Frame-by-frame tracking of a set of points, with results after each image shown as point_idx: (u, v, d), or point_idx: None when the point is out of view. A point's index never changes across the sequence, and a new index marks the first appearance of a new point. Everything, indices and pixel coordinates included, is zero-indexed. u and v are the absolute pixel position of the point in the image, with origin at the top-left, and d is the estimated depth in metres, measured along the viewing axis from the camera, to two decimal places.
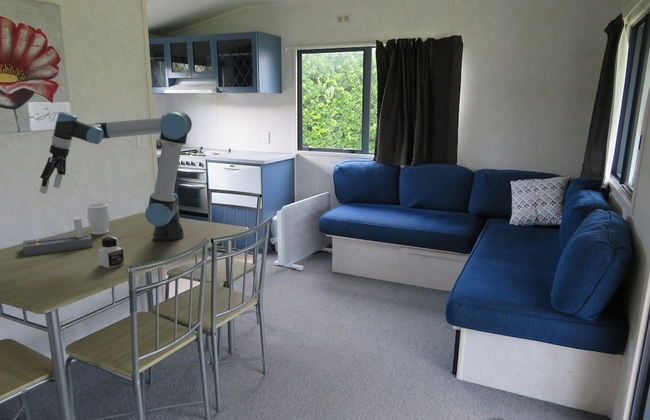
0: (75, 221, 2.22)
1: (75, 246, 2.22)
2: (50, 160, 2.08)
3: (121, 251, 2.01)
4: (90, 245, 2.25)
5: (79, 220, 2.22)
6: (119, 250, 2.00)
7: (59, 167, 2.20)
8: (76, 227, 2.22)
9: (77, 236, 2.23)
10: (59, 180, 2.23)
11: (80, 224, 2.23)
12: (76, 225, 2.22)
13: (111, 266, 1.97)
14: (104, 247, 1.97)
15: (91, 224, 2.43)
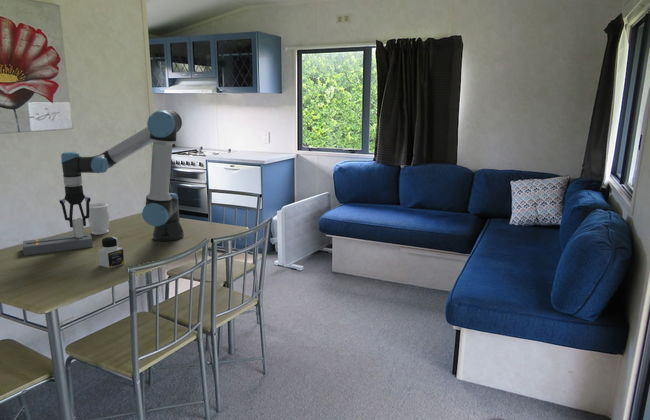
0: (75, 221, 2.22)
1: (75, 246, 2.22)
2: (60, 202, 2.19)
3: (121, 251, 2.01)
4: (90, 245, 2.25)
5: (79, 220, 2.22)
6: (119, 250, 2.00)
7: None
8: (76, 227, 2.22)
9: (77, 236, 2.23)
10: None
11: (80, 224, 2.23)
12: (76, 225, 2.22)
13: (111, 266, 1.97)
14: (104, 247, 1.97)
15: (91, 224, 2.43)
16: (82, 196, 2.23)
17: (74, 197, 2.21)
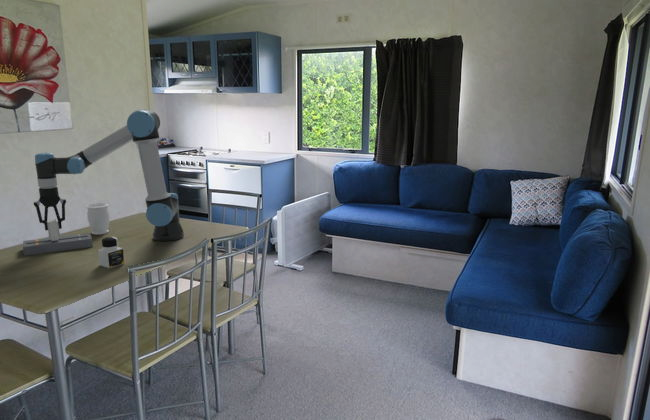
0: (50, 224, 2.16)
1: (75, 246, 2.22)
2: None
3: (121, 251, 2.01)
4: (90, 245, 2.25)
5: (54, 223, 2.17)
6: (119, 250, 2.00)
7: (55, 211, 2.19)
8: (51, 230, 2.17)
9: (52, 239, 2.18)
10: (57, 228, 2.20)
11: (55, 227, 2.18)
12: (51, 228, 2.17)
13: (111, 266, 1.97)
14: (104, 247, 1.97)
15: (91, 224, 2.43)
16: (57, 198, 2.18)
17: (49, 199, 2.16)
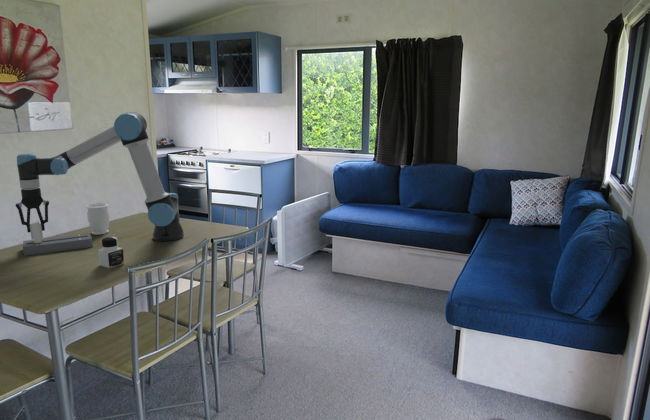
0: (32, 226, 2.13)
1: (75, 246, 2.22)
2: (16, 206, 2.11)
3: (121, 251, 2.01)
4: (90, 245, 2.25)
5: (37, 224, 2.14)
6: (119, 250, 2.00)
7: None
8: (34, 232, 2.14)
9: (35, 241, 2.15)
10: (40, 230, 2.17)
11: (38, 229, 2.14)
12: (34, 230, 2.14)
13: (111, 266, 1.97)
14: (104, 247, 1.97)
15: (91, 224, 2.43)
16: (40, 200, 2.14)
17: (31, 201, 2.12)
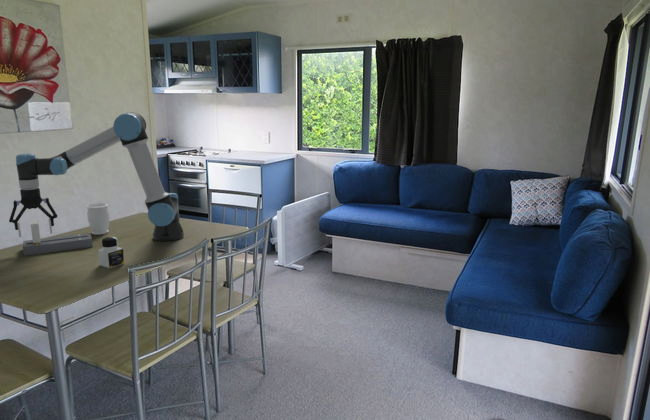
0: (32, 226, 2.13)
1: (75, 246, 2.22)
2: None
3: (121, 251, 2.01)
4: (90, 245, 2.25)
5: (36, 225, 2.14)
6: (119, 250, 2.00)
7: (43, 211, 2.16)
8: (33, 232, 2.14)
9: (34, 241, 2.15)
10: (49, 225, 2.18)
11: (37, 229, 2.14)
12: (33, 230, 2.13)
13: (111, 266, 1.97)
14: (104, 247, 1.97)
15: (91, 224, 2.43)
16: (39, 200, 2.14)
17: (30, 201, 2.12)
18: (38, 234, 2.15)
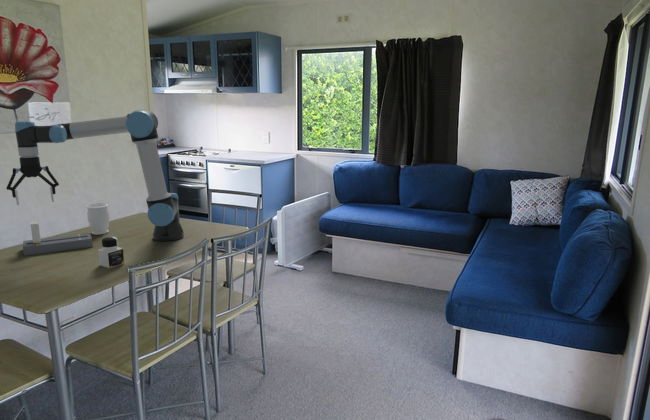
0: (32, 226, 2.13)
1: (75, 246, 2.22)
2: None
3: (121, 251, 2.01)
4: (90, 245, 2.25)
5: (36, 225, 2.14)
6: (119, 250, 2.00)
7: (43, 179, 2.14)
8: (33, 232, 2.14)
9: (34, 241, 2.15)
10: None
11: (37, 229, 2.14)
12: (33, 230, 2.13)
13: (111, 266, 1.97)
14: (104, 247, 1.97)
15: (91, 224, 2.43)
16: (38, 168, 2.11)
17: (30, 169, 2.10)
18: (38, 234, 2.15)
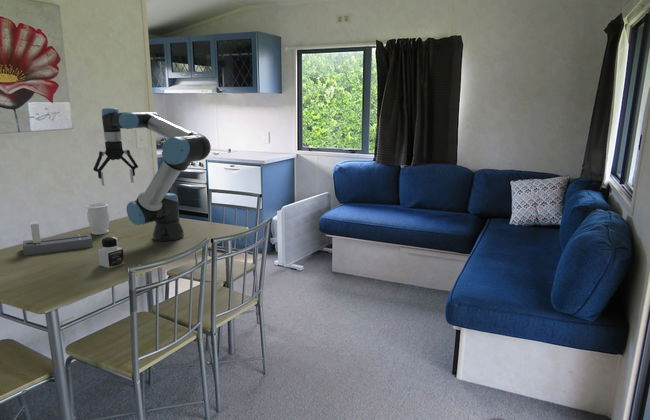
0: (32, 226, 2.13)
1: (75, 246, 2.22)
2: (99, 153, 2.26)
3: (121, 251, 2.01)
4: (90, 245, 2.25)
5: (36, 225, 2.14)
6: (119, 250, 2.00)
7: (125, 162, 2.33)
8: (33, 232, 2.14)
9: (34, 241, 2.15)
10: (131, 175, 2.35)
11: (37, 229, 2.14)
12: (33, 230, 2.13)
13: (111, 266, 1.97)
14: (104, 247, 1.97)
15: (91, 224, 2.43)
16: (121, 151, 2.31)
17: (114, 152, 2.29)
18: (38, 234, 2.15)
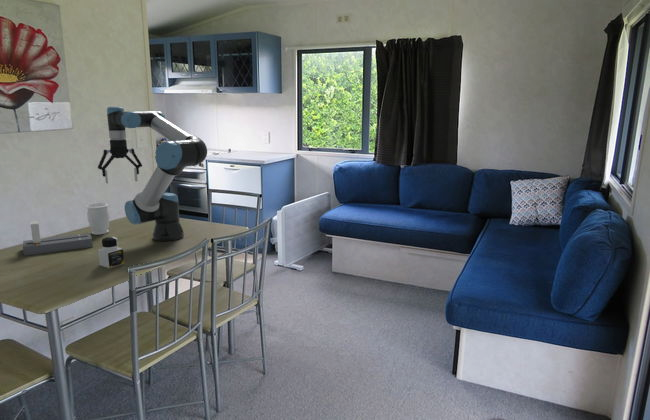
0: (32, 226, 2.13)
1: (75, 246, 2.22)
2: (103, 151, 2.28)
3: (121, 251, 2.01)
4: (90, 245, 2.25)
5: (36, 225, 2.14)
6: (119, 250, 2.00)
7: None
8: (33, 232, 2.14)
9: (34, 241, 2.15)
10: (135, 173, 2.36)
11: (37, 229, 2.14)
12: (33, 230, 2.13)
13: (111, 266, 1.97)
14: (104, 247, 1.97)
15: (91, 224, 2.43)
16: (125, 150, 2.32)
17: (118, 151, 2.30)
18: (38, 234, 2.15)
